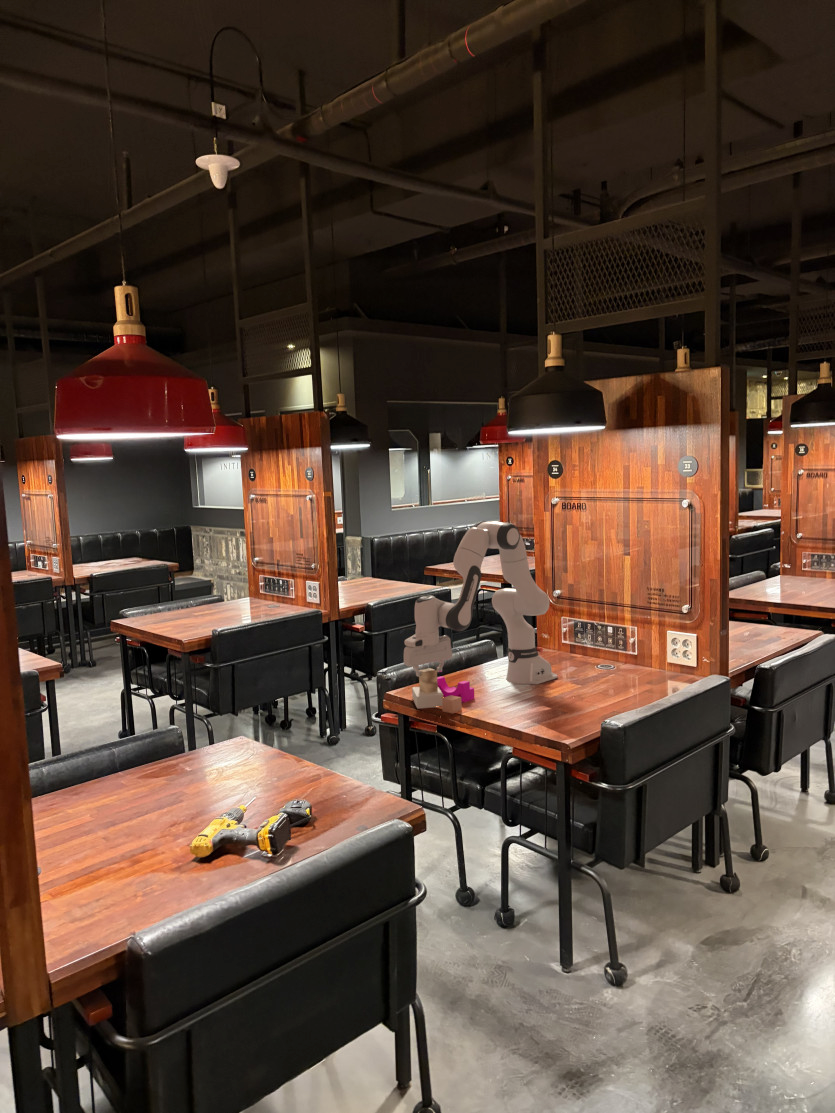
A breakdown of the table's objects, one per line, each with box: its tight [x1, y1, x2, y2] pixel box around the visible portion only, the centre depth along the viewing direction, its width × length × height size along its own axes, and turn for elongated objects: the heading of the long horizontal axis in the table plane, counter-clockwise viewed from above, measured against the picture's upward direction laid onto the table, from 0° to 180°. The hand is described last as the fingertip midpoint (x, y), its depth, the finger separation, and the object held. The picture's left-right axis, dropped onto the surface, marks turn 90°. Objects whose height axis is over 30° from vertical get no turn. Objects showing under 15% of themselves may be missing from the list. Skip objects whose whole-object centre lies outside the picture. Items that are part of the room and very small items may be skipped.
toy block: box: [437, 676, 475, 703], centre depth 312 cm, size 15×6×8 cm, turn 45°
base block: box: [411, 686, 443, 709], centre depth 306 cm, size 10×14×5 cm
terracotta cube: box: [441, 695, 463, 714], centre depth 294 cm, size 5×5×5 cm
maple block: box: [418, 667, 438, 693], centre depth 306 cm, size 5×5×8 cm
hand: (429, 674), depth 306 cm, fingers open, 8 cm apart
